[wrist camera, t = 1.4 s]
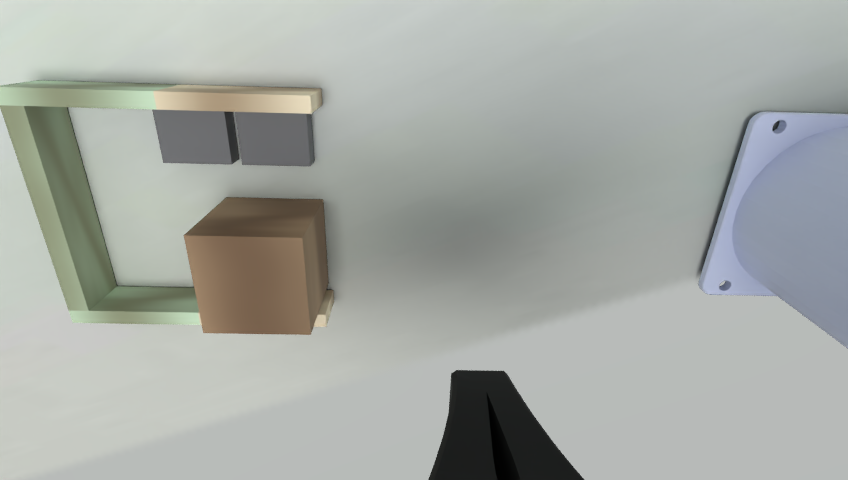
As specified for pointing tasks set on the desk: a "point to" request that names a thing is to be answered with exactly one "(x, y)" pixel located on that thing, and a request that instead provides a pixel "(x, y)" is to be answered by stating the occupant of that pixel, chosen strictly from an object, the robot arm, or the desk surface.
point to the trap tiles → (216, 139)
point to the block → (259, 265)
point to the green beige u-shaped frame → (71, 198)
